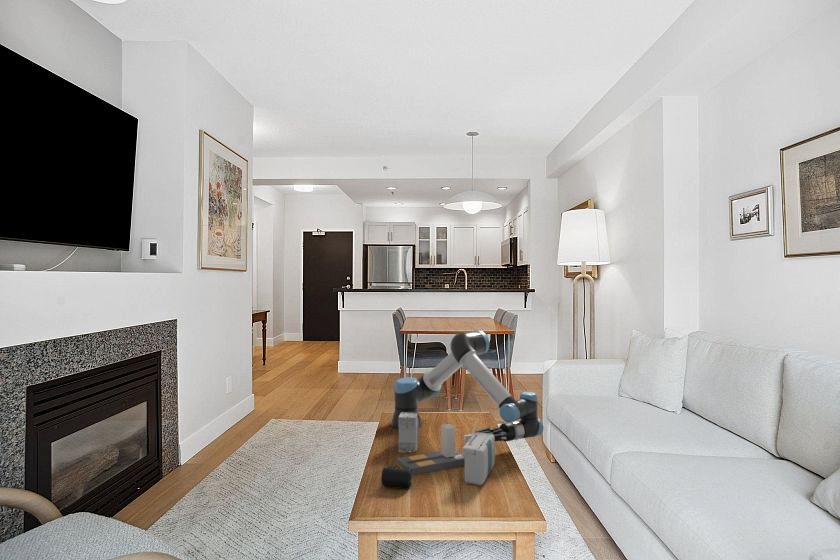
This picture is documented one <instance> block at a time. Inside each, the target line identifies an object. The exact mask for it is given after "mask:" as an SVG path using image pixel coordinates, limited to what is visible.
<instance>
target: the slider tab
mask: <svg viewBox="0 0 840 560" xmlns="http://www.w3.org/2000/svg"><path fill="white" fill-rule="evenodd" d="M456 435H457V434H456V426H454V425H453V424H451V423H446V424H440V451H441V454H442V455H443V456H445V457H446V458H449V457H454V456H456V450H457V449H456V448H457V447H456V446H457V445H456V440H457V439H456V438H457V437H456Z"/></svg>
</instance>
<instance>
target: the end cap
mask: <svg viewBox="0 0 840 560" xmlns="http://www.w3.org/2000/svg"><path fill="white" fill-rule="evenodd" d="M411 473H412V468H411V467H406V466H405V467H403V468H402V469H401V468H397V465H388V466H387V467H383V468H382V471H381V478H380V481H381V485H382V486H383V487H384V488H385V487H387V488H396V489H405V490H410V488H411V487H412V484H413V483H412V480H413V475H411Z"/></svg>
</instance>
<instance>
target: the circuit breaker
mask: <svg viewBox="0 0 840 560" xmlns="http://www.w3.org/2000/svg"><path fill="white" fill-rule="evenodd" d="M418 413H419V412H418ZM418 413H408V412H401V413H400V415H399V417H398V418H399V421H398V427H399V429H398V446H397V447H398V453H405V452H409V451H411V452H412V451H413V452H415V451H416V452H417V450H418V446H419V443H418V441H419V440H418V439H419V434H420V431H419V430H420V427H419V418H418ZM401 450H402V451H401Z"/></svg>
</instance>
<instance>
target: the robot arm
mask: <svg viewBox="0 0 840 560" xmlns="http://www.w3.org/2000/svg"><path fill="white" fill-rule="evenodd" d="M489 348H490V338H489V336H488V335H487V333H485V332H484V331H482V330H478V329H475V330H472V331H463V332H459V333H456V334H455V335H454V336H453V337H452V339H451V342H450V351H451V352H450V353H449V354H447V356H445V357H444V358H443V359H442V360H441V361H439V363H438V364H436V366H435V367H434V368H432V370H430V371H428V370H427V371H426V372H424V373H423V374H422V375H421V376H420V377H417V378H416V377H413V376H406V377H402V378H401V377H400V378H398V379H397V380H395V382H394V410H393V414H392V418H391V420H390V422H391V423H390V424H391V425H390V426H391V427H393V429H398V430H399V427H398V421H399V418H398V417H399V415H400V413H401V412H408V413H418V418H419V428H420V427H421V425H422V421H421V420H422V419H421V417H420V413H419V409H418V403H420V402H423V401H426V400H431V399H434V398H436V397H437V396H438V395H439V393H441V392H440V391H441V389H442V385H443V383H444V382H446V381H447V380H448V379H449V378H450V377H451V376H452V375H453V374H454V373H456V372H457V371H458V370H459V369H460V368H461V367H464V368H465V370H466V371H467V372H468V373H469V374H470V375H471V376H472V378H473V379H474V380H475V381H476V382H477V383H478V385H480V386H479V387H481V388H482V389H483V391H484V392H485V393H486V394H487V395H488V396H489V398H490V399H491V401H492V402H494V403H495V405H496V406H497V407H498V409H499V416H500V417H501V419H502V420H503V423H501V424H500V426H499V427H494V428H491V427H490V426H487V427H485V428H482V429H478V430H474V433H476V432H478V433H487V434H493V435H494V437H495V442H512V441H518V440H522V439H527V438H535V437H538V436H541V435H542V434H543V432H544V425H543V421H542V420H541V419H540V418H539V417H538V415H539V414H538V413H539V412H538V409H539V407H538V406H539V404H538V403H539V401H538V394H537V393H536V392H533V391H523V392H521V393H520V394H519V399H517V400H516V399H515V398H514V397H513V396H512V394H510V392H509V391H508V390H507V389H506V387H505V386H504V385H503V384H502V383H501V382H500V381H499V380H498V378H497V377H496V376H495V375H494V374H493V373H492V372H491V370H490V369H489V368H488V367H487V365H486V364H485V363H484V362H483V361H482V360H481V359H480V357H479V356H480V355H484V354H486V353H487V352H488V351H489ZM474 433H473V435H474ZM471 435H472V433H470V434H464V435H463V443H465V444H466V443H467V442H468V441H469V439H470V438H471Z"/></svg>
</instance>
